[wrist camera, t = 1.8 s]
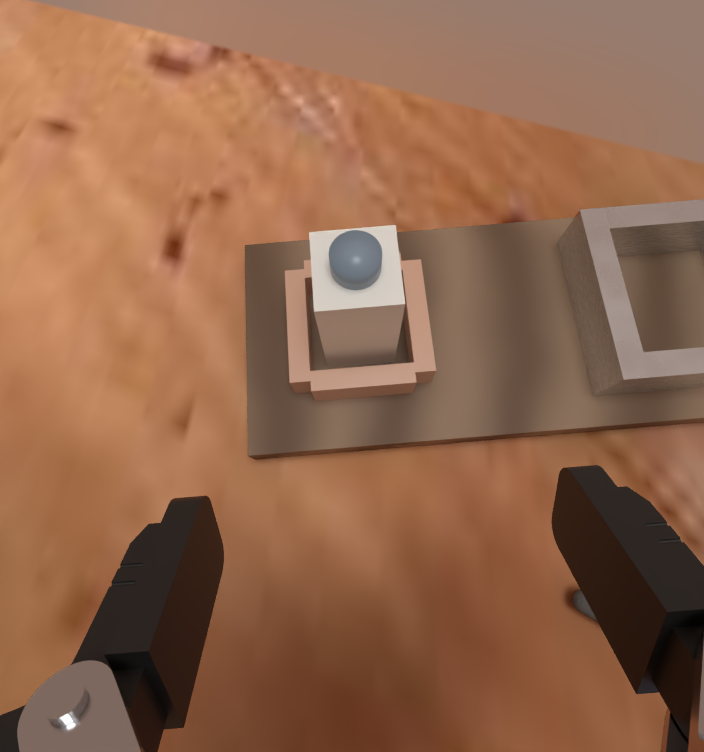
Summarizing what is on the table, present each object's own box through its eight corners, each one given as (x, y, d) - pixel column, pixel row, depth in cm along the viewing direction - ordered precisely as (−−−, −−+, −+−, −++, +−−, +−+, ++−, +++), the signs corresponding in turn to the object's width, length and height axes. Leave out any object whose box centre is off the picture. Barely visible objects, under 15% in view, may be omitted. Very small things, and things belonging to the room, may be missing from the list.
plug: (327, 367, 25) (311, 299, 17) (323, 306, 26) (306, 217, 18) (394, 362, 25) (407, 291, 17) (387, 301, 26) (397, 209, 18)
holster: (295, 402, 24) (290, 392, 22) (290, 280, 26) (284, 261, 24) (431, 391, 24) (437, 380, 22) (415, 270, 26) (419, 250, 24)
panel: (254, 459, 25) (248, 455, 23) (250, 259, 28) (244, 245, 27) (783, 415, 25) (809, 409, 23) (714, 220, 28) (733, 204, 27)
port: (592, 396, 24) (627, 377, 21) (556, 243, 26) (582, 206, 23) (768, 381, 24) (829, 360, 21) (714, 229, 26) (762, 190, 23)
